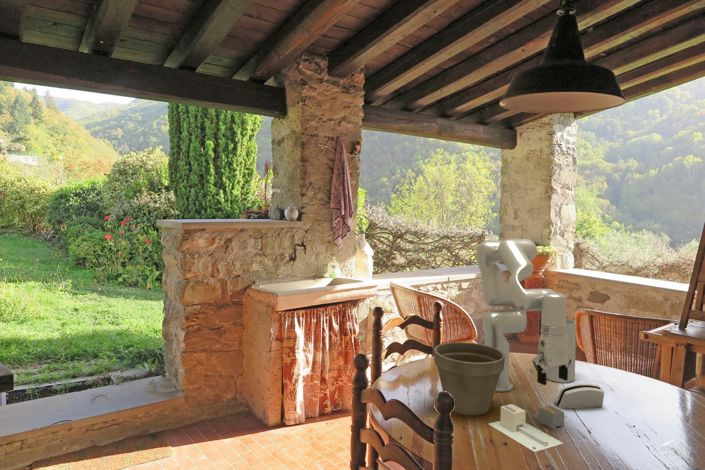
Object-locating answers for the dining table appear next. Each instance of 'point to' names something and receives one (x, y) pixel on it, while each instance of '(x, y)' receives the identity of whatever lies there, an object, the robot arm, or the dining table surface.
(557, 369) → the cylinder vase
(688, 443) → the dining table surface
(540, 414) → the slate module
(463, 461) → the dining table surface
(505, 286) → the robot arm
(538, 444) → the panel
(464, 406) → the plant pot
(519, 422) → the cream module
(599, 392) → the off-white grooved curved block
